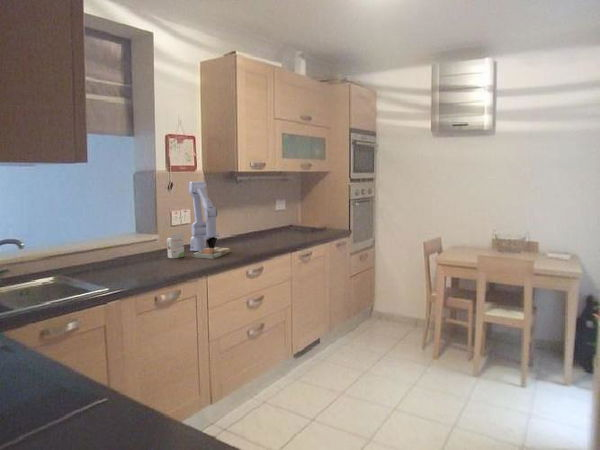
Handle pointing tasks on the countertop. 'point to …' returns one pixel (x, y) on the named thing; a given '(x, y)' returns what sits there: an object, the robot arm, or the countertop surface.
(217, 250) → the beige square slab
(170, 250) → the ink box
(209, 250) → the tile rear
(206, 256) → the tray
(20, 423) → the countertop surface
